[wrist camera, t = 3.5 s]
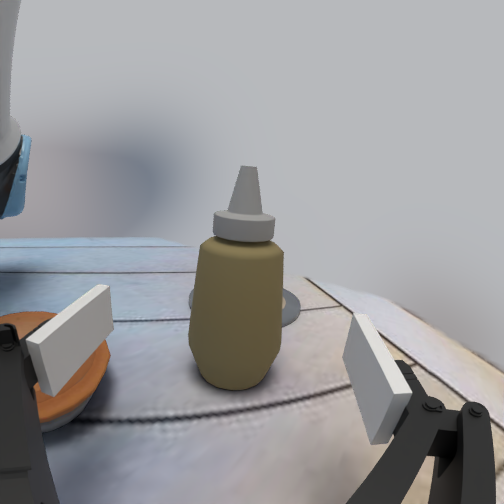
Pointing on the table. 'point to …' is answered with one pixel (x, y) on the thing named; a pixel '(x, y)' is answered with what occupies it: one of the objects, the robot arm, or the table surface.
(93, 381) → the pie
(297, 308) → the coaster
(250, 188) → the squeeze bottle
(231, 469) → the table surface
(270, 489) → the table surface
